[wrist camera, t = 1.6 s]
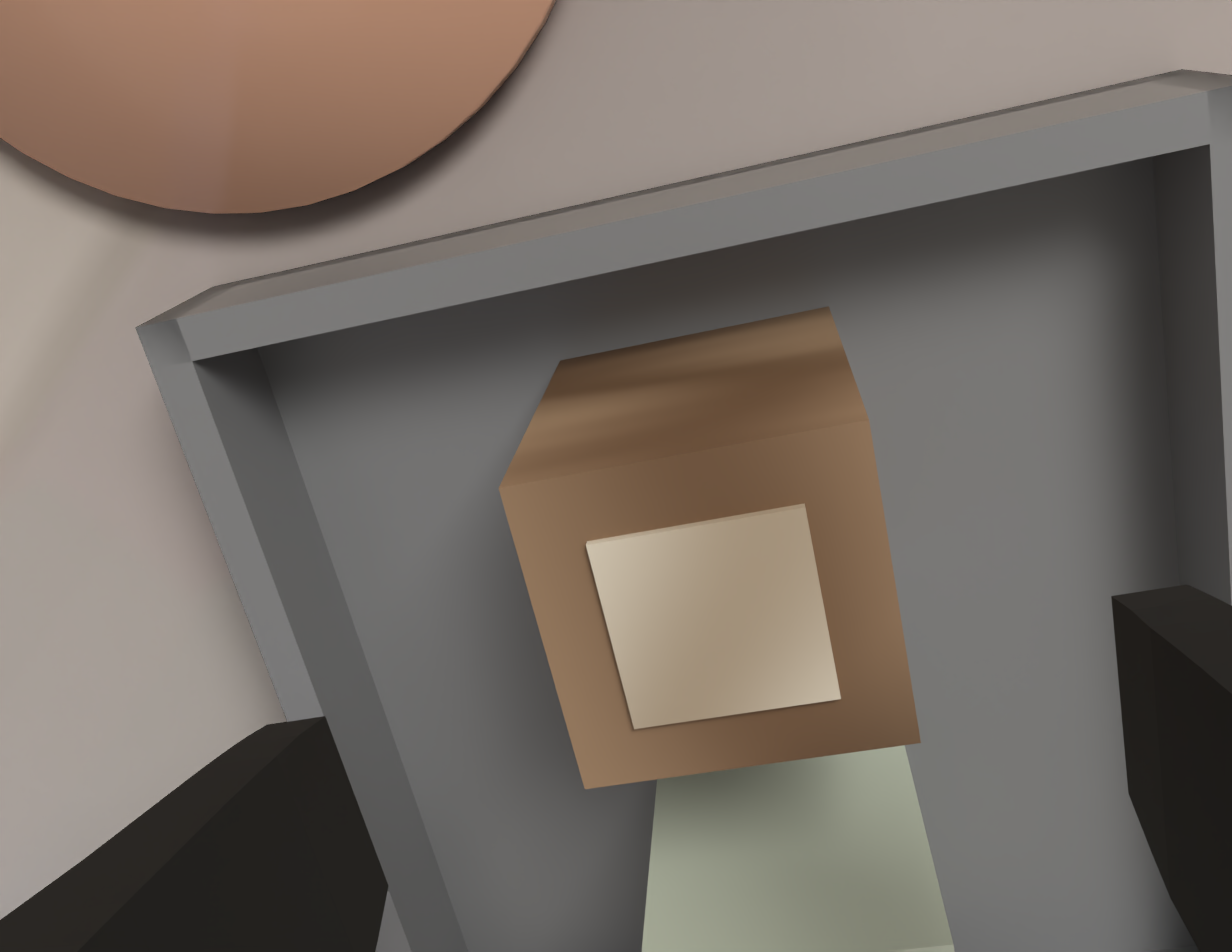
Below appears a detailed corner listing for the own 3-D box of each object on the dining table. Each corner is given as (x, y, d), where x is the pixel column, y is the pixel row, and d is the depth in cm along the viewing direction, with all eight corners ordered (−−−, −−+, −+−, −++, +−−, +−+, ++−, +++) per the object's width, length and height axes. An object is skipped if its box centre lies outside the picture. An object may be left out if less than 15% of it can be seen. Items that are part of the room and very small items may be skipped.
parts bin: (476, 1024, 23) (448, 1137, 21) (212, 287, 18) (135, 328, 15) (1229, 946, 21) (1293, 1063, 18) (1182, 69, 15) (1263, 77, 13)
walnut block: (620, 595, 18) (584, 794, 14) (560, 360, 17) (496, 491, 12) (870, 554, 18) (921, 747, 13) (828, 307, 16) (869, 423, 12)
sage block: (706, 933, 21) (700, 1192, 16) (660, 750, 20) (638, 978, 15) (929, 907, 20) (989, 1171, 16) (897, 716, 19) (953, 944, 14)
